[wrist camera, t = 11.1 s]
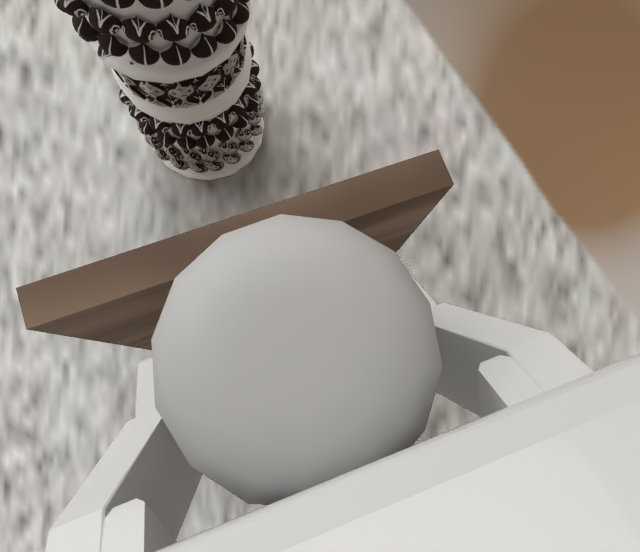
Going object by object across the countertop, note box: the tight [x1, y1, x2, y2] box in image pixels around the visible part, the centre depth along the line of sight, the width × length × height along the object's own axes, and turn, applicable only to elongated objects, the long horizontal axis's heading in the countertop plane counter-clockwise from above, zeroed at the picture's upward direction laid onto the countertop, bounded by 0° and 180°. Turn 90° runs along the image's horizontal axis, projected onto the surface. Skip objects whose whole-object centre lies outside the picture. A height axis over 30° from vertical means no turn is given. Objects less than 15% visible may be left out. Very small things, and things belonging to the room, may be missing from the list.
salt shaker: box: [151, 214, 442, 505], centre depth 12 cm, size 6×6×13 cm
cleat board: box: [16, 150, 454, 350], centre depth 24 cm, size 9×16×16 cm, turn 110°
